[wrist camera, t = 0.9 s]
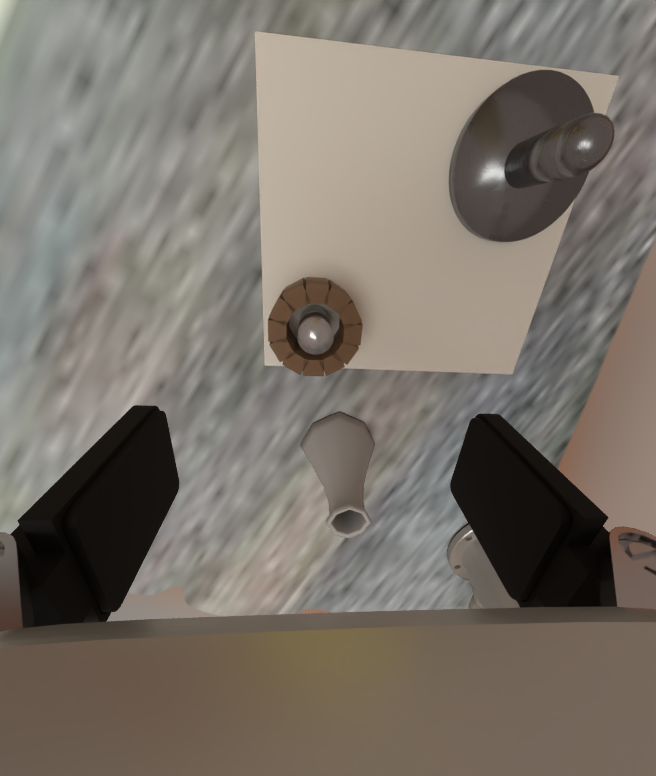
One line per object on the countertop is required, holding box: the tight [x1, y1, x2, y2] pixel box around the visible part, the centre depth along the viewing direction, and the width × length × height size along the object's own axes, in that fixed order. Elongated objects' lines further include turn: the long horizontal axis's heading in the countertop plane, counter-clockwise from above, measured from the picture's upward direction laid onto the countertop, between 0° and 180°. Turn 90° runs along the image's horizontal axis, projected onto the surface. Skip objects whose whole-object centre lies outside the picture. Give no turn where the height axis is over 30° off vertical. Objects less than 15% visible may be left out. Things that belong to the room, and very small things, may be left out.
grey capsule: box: [298, 305, 334, 355], centre depth 22 cm, size 2×2×4 cm
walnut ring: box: [268, 277, 363, 376], centre depth 23 cm, size 6×6×4 cm
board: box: [255, 31, 619, 374], centre depth 23 cm, size 20×22×2 cm
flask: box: [300, 412, 375, 538], centre depth 27 cm, size 7×7×10 cm
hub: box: [449, 70, 614, 242], centre depth 18 cm, size 9×9×7 cm
